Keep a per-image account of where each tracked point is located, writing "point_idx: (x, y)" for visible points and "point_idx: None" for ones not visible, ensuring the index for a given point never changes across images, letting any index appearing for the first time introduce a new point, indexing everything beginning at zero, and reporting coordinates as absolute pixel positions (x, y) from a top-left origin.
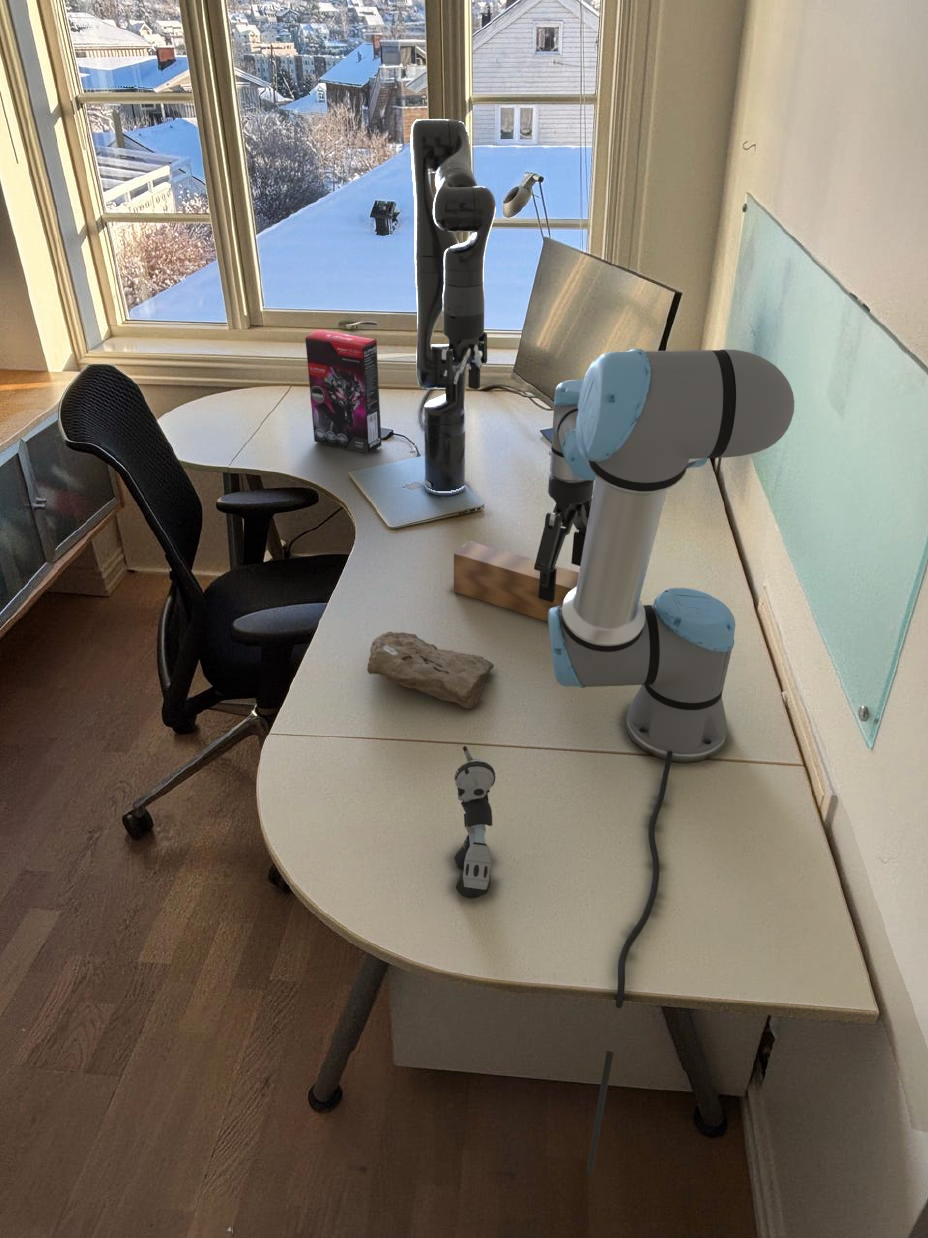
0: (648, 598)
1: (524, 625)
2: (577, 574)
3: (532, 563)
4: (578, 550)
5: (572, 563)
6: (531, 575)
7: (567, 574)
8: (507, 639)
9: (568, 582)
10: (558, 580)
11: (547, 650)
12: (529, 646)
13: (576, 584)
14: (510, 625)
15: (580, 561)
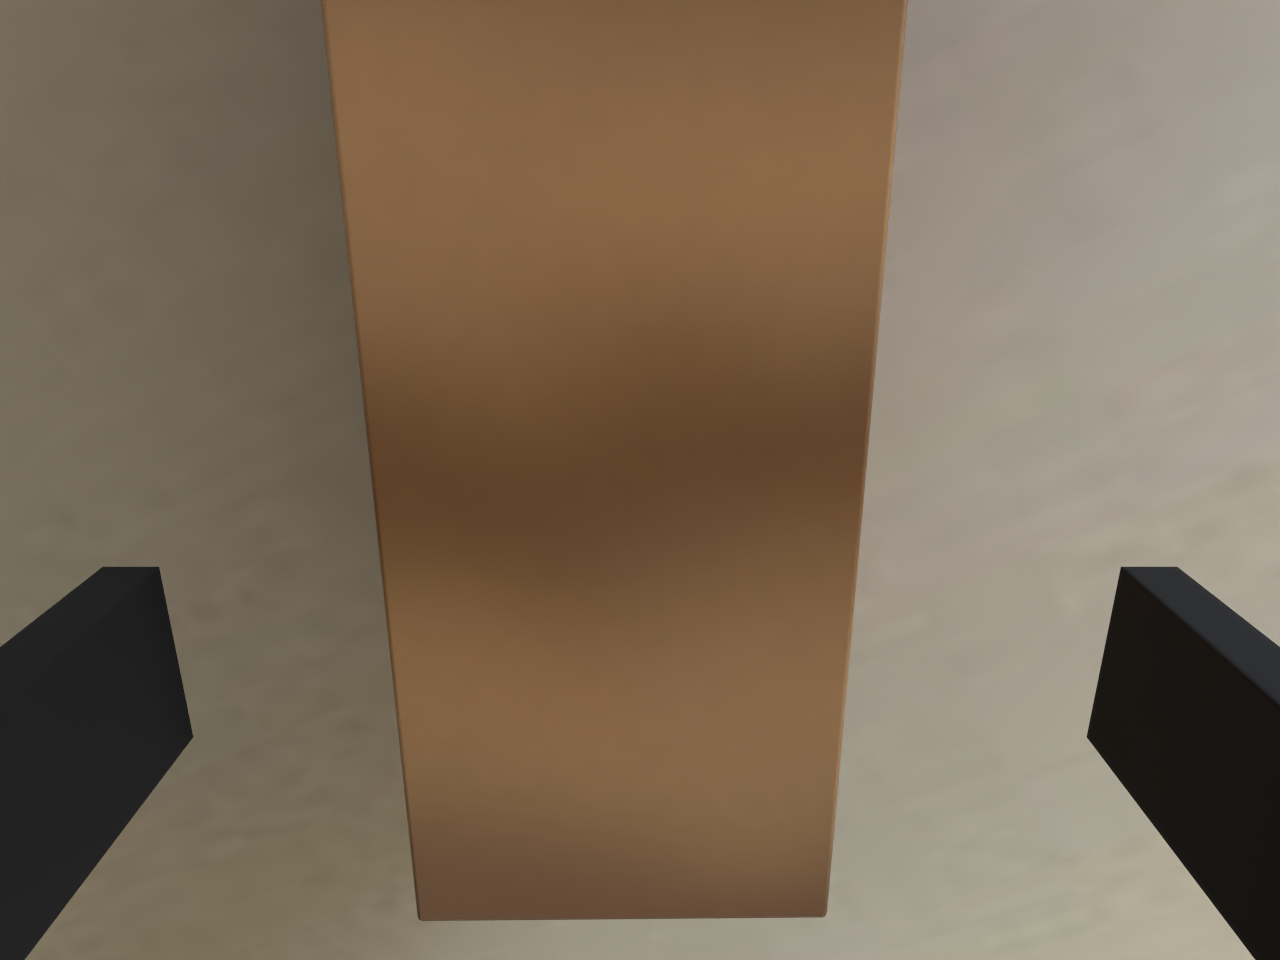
0: (1170, 905)
1: (316, 281)
2: (774, 825)
3: (755, 127)
4: (1250, 800)
5: (1120, 588)
6: (384, 304)
7: (710, 726)
8: (32, 252)
9: (525, 812)
10: (499, 692)
11: None
12: (82, 461)
13: (540, 899)
14: (233, 165)
15: (1136, 724)
